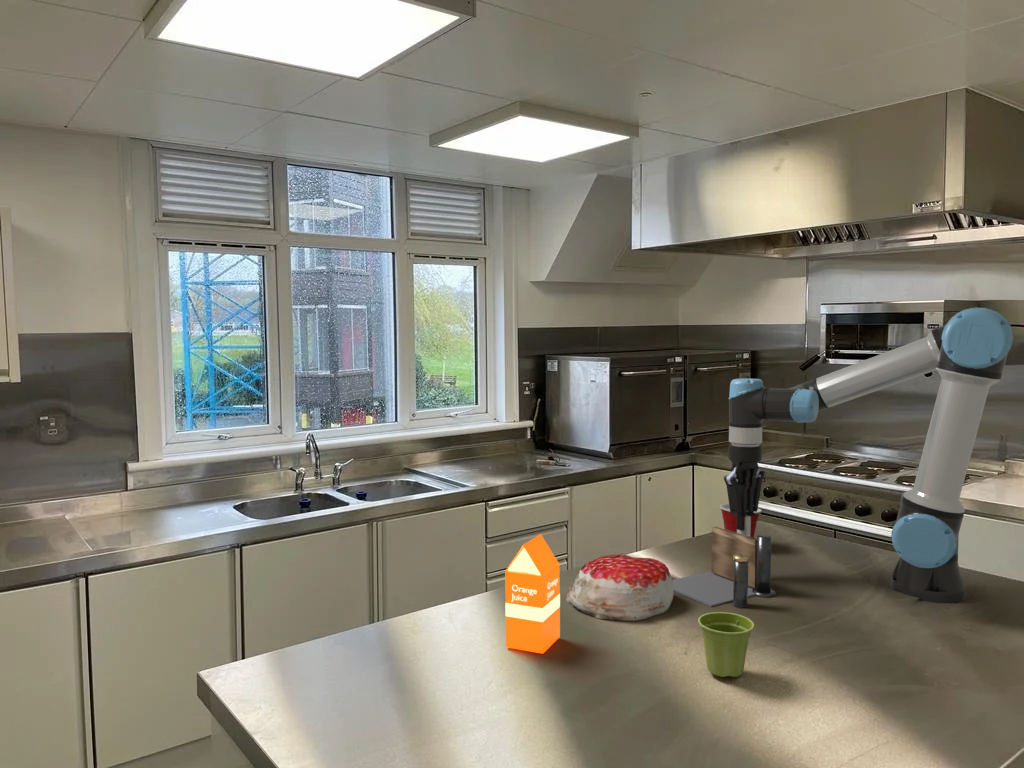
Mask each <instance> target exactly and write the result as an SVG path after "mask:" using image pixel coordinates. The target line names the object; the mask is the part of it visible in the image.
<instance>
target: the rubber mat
mask: <svg viewBox="0 0 1024 768" xmlns="http://www.w3.org/2000/svg"><path fill="white" fill-rule="evenodd" d="M672 584H673V592H674V593H677V594H679V595H682V596H683V597H686V598H689V599H691V600H693V601H696V602H698V603H700V604H703V605H706V606H708V607H710V608H712V607H716V606H720V605H724V604H728V603H732V602H733V580H731V579H729V578H726V577H723V576H720V575H718V574H715V573H712V570H711V571H707V572H702V573H698V574H694V575H689V576H684V577H679V578H675V579H672ZM752 589H754V588H753V587H750V586H748V598H752V597H755V596H756V594H755V593H753V592H752ZM756 597H757V596H756Z"/></svg>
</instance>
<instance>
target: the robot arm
mask: <svg viewBox="0 0 1024 768" xmlns="http://www.w3.org/2000/svg"><path fill="white" fill-rule="evenodd" d="M1013 341H1014V333H1013V329H1012V325H1011V324H1010V323H1009V321H1008V319H1007V318H1006V317H1005V316H1003V315H1002V313H999V312H998V311H997V310H994V309H990V308H988V307H971V308H970V307H969V308H967V309H966V308H965V309H963V310H961V311H959V312H957V313H955V314H954V315H953V316H952V317H950V319H949V320H948V321H947V323H946V324H945V323H944V325H941V326H939V327H935V328H934V329H931V330H929V331H928V334H927V335H926V336H925V337H923V338H920V339H917V340H915V341H913V342H909V343H907V344H904V345H902V346H899V347H897V348H893V349H891V350H888V351H886V352H883V353H881V354H877V355H875V356H872V357H869V358H867V359H864V360H862V361H859V362H856V363H853V364H851V365H848V366H845V367H843V368H840V369H837V370H835V371H833V372H830V373H828V374H824V375H821V376H819V377H817V378H815V379H812V380H809V381H806V382H802V383H800V384H797V385H795V386H792V387H789V388H783V387H782V388H777V387H776V388H772V387H771V388H770V387H765V385H764V381H763V380H762V379H760V378H745V377H743V378H735V379H734V378H733V379H732V380H731V381H730V384H729V394H728V395H729V397H728V442H729V443H730V444H729V445H728V448H727V449H728V451H727V452H728V453H727V455H728V460H729V461H730V462H731V467H730V473H729V475H724V476H723V480H724V483H725V485H726V490H727V491H726V493H727V498H728V504H729V507H730V513H731V514H733V515H736V517H737V533H739V534H743V535H746V536H750V533H751V516H755V515H756V513H753V512H754V511H755V512H757V510H758V508H759V503H760V498H761V497H760V496H761V491H762V484H763V479H764V477H765V475H766V472H765V471H764V470H760V469H759V464H758V463H759V462H761V461H762V460H763V459H762V457H763V451H762V450H763V447H762V446H761V444H762V443H763V421H777V422H778V421H779V422H790V423H792V422H793V423H798V424H801V423H813V422H816V420H817V418H818V414H819V412H820V411H824V410H826V409H829V408H832V407H835V406H837V405H840V404H843V403H846V402H848V401H852V400H855V399H857V398H860V397H863V396H867V395H869V394H871V393H874V392H877V391H880V390H883V389H886V388H889V387H891V386H894V385H897V384H901V383H903V382H906V381H909V380H911V379H915V378H917V377H920V376H923V375H926V374H929V373H931V372H932V373H933V372H934V371H937V373H938V374H939V375H940V378H941V380H940V383H939V386H938V387H939V388H938V390H937V394H936V399H935V402H934V405H933V411H932V415H931V418H930V423H929V427H928V429H927V433H926V437H925V441H924V446H923V449H922V454H921V457H920V459H919V464H918V469H917V473H916V477H915V480H914V482H913V483H914V484H913V487H912V488H911V489H909V490H907V491H904V492H902V494H901V496H900V501H899V504H900V505H899V509H898V512H897V516H896V521H895V522H894V523H895V524H894V525H893V527H892V529H891V535H890V537H891V542H892V546H893V548H894V550H895V552H896V553H897V554H898V560H897V562H896V564H895V567H894V568H893V572H892V575H891V577H890V589H891V590H892V591H895V592H898V593H901V594H904V595H907V596H911V597H914V598H917V600H918V601H922V602H928V603H936V604H953V603H960V602H963V601H965V600H966V599H967V587H966V584H965V581H964V577H963V575H962V572H961V568H960V565H959V539H960V538H959V536H960V530H961V526H962V522H963V518H964V516H965V515H964V514H965V512H966V508H965V507H964V506H963V504H962V503H961V502H960V499H961V498H960V497H961V495H962V494H961V493H962V490H963V487H964V483H965V479H966V475H967V472H968V469H969V464H970V461H971V457H972V453H973V450H974V446H975V442H976V438H977V434H978V430H979V427H980V423H981V420H982V416H983V413H984V412H983V411H984V409H985V405H986V402H987V397H988V394H989V390H990V388H991V386H993V385H995V384H997V383H999V382H1000V381H1001V379H1002V376H1003V372H1004V369H1005V366H1006V361H1007V357H1008V355H1009V352H1010V350H1011V349H1012V344H1013Z"/></svg>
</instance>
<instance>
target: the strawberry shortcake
mask: <svg viewBox="0 0 1024 768" xmlns="http://www.w3.org/2000/svg"><path fill="white" fill-rule="evenodd" d="M672 580H673V578H672V575H671V572H670V570H669V567H668V566H667V565H666V564H665V563H664V562H662V561H660V560H659V559H656V558H651V557H633V556H630V555H628V554H627V555H626V554H623V553H621V554H618V553H617V554H607V555H602V556H600V557H598V558H594V559H592V560H590V561H588V562H586V563H585V564H584V565H582V567H581V568H580V570H579V571H578V573H577V575H576V577H575V579H574V582H573V586H572V588H571V587H568V588H567V592H566V600H565V601H566V603H568V604H570V605H571V607H573V609H576V610H577V611H579V612H581V613H583V614H586V615H589V616H591V617H593V618H596V619H600V620H612V621H613V620H614V621H628V622H630V621H633V622H634V621H636V622H637V621H642V620H647V619H650V618H651V617H654V616H657V615H661V614H664V613H666V612H667V611H668V610H669V609H670V607H671V604H672V603H673V599H674V595H675V594H674V593H675V592H674V591H673V584H672Z"/></svg>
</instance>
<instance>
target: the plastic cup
mask: <svg viewBox="0 0 1024 768" xmlns="http://www.w3.org/2000/svg"><path fill="white" fill-rule="evenodd" d="M719 509H720V510H721V514H722V520H723V526H724V528H723V529H726V530H729V531H733V532H736V533H737V517H736V515H733V514H731V513H730V507H729V503H724V504H723V503H722V504H719ZM762 511H763V510H762V509H760V508H759V507H758V510H757V512H755V511H754V512H753V513H756V515H755V516H751V533H750V537H753V538H755V532H756V527H757V524H758V523H757V522H758V519H759V516H760V514H761V513H762Z"/></svg>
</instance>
